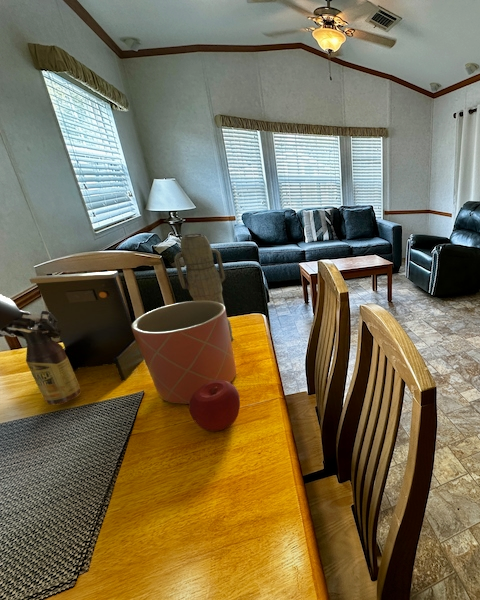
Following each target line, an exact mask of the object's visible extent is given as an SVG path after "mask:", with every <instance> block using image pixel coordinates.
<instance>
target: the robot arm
mask: <svg viewBox="0 0 480 600" xmlns="http://www.w3.org/2000/svg"><path fill="white" fill-rule="evenodd" d="M57 323H58V320H57V319H56V318H55V317H54V316H53V315H52V314H51V313H50V312H49V311H48V310H42V311H41V312H40V314H32V313H31V312H30V311H26V310H21V309H19V307H18V305H17V304H16V303H15V301H14V300H12V299H11V298H9V297H6V296H4V295H2V294H0V338H3V337H4V336H8V337H10V338H16V337H17V338H19V339H23V340H25V338H24V336H23V334H22V333H20V331H24V332H28V333H31V332H38V333H42V334H44V335H47V336H50V337H51V339H59V338H60V334H61V329H60V328H57ZM38 325H42V326H41V329H40V328H38ZM28 327H29V328H28Z"/></svg>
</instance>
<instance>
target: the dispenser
mask: <svg viewBox="0 0 480 600" xmlns="http://www.w3.org/2000/svg"><path fill="white" fill-rule="evenodd" d="M118 276H120V274H119V272H118V270H114V271H100V272H99V271H98V272H97V271H96V272H81V273H69V274H68V273H67V274H53V275H37V276H34V277H31V278H29V279H28V280H29V282H30V284H31V285H32V284H36V286H37V288H38V291H39V294H40V295H41V297H42V300H43V302H44V304H45V306H46V309H47V311H48V312H50V313H51V314H52V315H53V316H54V317H55V318H56V319H57V320H58V323H57V328H60V329H61V334H60V337H59V338H60V340H61V342H62V345H63V349H64V352H65V354H66V355H67V357H68V359H69V362H70V364H71V367H72V369H73V372H74V373H76V371H78V370H79V369H87V368H94V367H102V366H110V365H111V366H112V365H114V366H115V369H116V372H117V374H118V376H119V379H120V381H121V382H125V381H127V379H128V378H129V377H131V375H132V374H133V373H134V371H135V370H136V369H137V368H138V367H139V366H140V365H141V364H142V363H143V361H145V360H144V358H143V356H142V353H141V350H140V348H139V345H138V343H137V340H136V338H135V335H134V333H133V330H132V324H133V322H132V320H131V316H130V314H129V311H128V309H127V306H126V302H125V300H124V297H123V293H122V291H121V287H120V285H119V282H118V279H117V277H118Z"/></svg>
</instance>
